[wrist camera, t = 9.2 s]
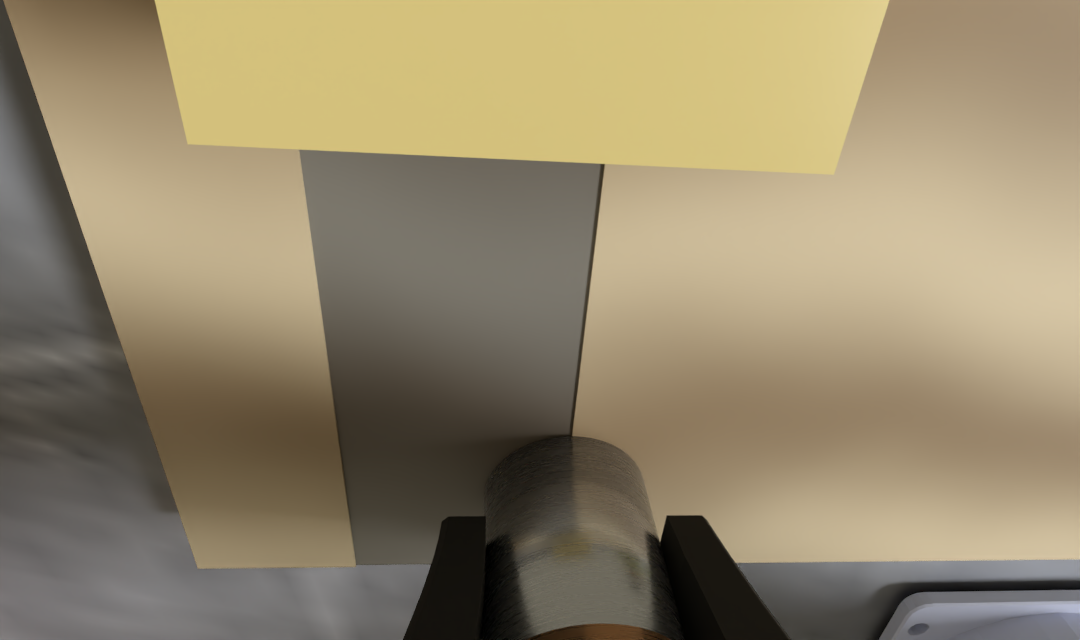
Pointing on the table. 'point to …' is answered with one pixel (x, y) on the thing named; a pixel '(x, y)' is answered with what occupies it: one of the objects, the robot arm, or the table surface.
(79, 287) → the table surface
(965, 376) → the subfloor panel
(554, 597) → the battery
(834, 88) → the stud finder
